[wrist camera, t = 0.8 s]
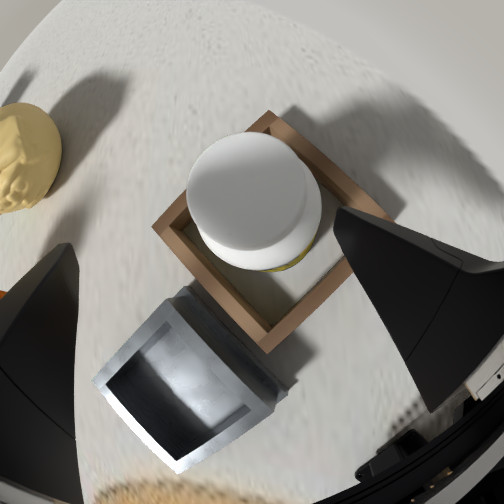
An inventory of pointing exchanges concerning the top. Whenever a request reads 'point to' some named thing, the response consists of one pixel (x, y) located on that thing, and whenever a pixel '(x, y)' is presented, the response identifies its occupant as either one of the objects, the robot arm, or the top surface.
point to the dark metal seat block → (187, 383)
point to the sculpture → (26, 155)
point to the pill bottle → (254, 202)
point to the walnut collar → (219, 286)
